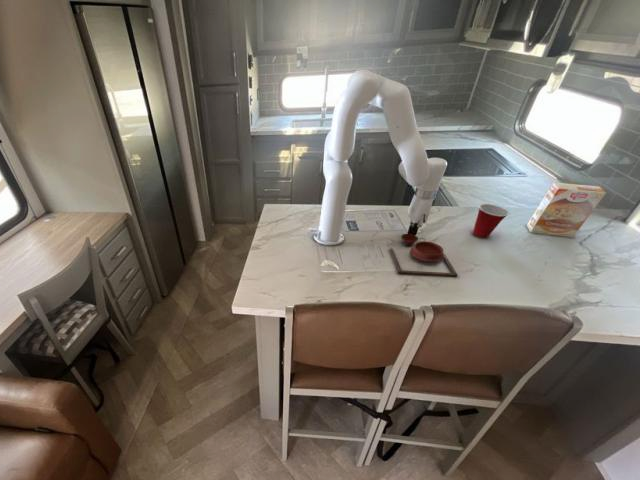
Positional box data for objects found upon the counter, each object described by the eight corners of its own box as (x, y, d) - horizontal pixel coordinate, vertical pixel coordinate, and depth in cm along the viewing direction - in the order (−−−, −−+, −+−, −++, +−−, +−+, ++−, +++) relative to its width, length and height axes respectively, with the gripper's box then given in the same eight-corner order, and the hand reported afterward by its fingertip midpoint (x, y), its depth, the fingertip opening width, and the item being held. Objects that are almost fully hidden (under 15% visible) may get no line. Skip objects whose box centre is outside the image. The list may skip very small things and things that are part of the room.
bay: (398, 274, 118) (399, 271, 117) (389, 250, 130) (390, 248, 129) (456, 276, 115) (457, 274, 114) (441, 252, 127) (442, 250, 127)
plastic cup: (500, 242, 131) (515, 215, 124) (471, 240, 133) (484, 213, 125) (490, 229, 139) (503, 203, 131) (463, 228, 141) (475, 202, 133)
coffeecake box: (530, 232, 136) (558, 188, 123) (526, 225, 141) (552, 181, 128) (573, 238, 131) (607, 192, 119) (567, 230, 136) (599, 185, 124)
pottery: (421, 268, 120) (425, 258, 117) (390, 242, 135) (393, 233, 132) (448, 263, 122) (453, 253, 119) (415, 238, 136) (418, 228, 133)
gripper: (410, 185, 129) (398, 226, 141) (421, 200, 118) (406, 243, 130) (429, 185, 128) (415, 226, 140) (442, 200, 117) (426, 243, 129)
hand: (411, 234), depth 135 cm, fingers closed
